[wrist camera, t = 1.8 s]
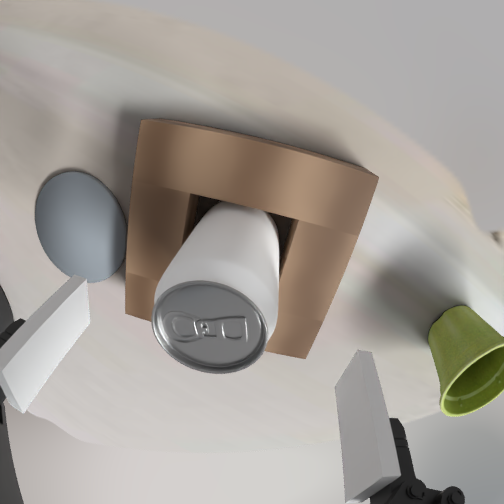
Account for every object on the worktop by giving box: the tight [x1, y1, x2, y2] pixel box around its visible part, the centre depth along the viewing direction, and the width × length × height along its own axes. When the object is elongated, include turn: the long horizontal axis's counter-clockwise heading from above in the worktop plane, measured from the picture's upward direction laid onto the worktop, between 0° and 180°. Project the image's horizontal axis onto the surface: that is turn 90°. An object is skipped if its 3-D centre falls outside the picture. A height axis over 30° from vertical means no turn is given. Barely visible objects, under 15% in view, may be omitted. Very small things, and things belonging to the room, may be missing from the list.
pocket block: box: [125, 118, 379, 359], centre depth 23 cm, size 16×16×4 cm
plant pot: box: [428, 306, 504, 417], centre depth 23 cm, size 9×9×9 cm
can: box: [151, 201, 279, 374], centre depth 19 cm, size 6×6×12 cm
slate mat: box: [35, 171, 128, 283], centre depth 25 cm, size 11×11×1 cm
